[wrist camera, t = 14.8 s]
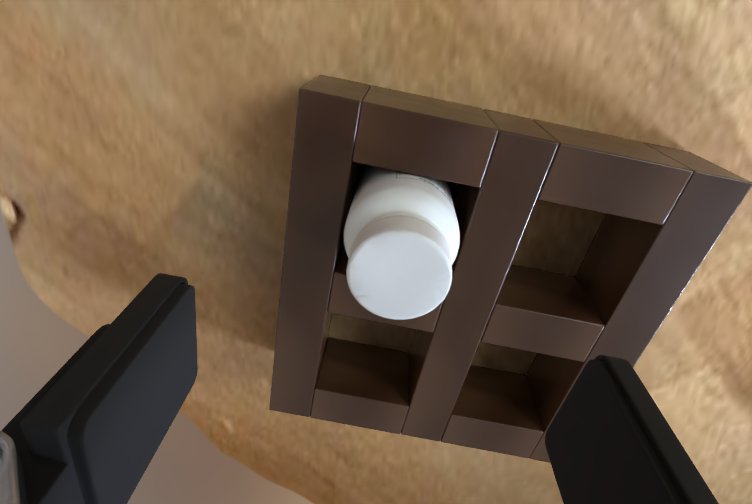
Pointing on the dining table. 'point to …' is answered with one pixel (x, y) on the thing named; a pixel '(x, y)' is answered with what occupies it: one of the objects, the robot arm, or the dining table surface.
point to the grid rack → (482, 263)
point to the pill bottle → (400, 242)
